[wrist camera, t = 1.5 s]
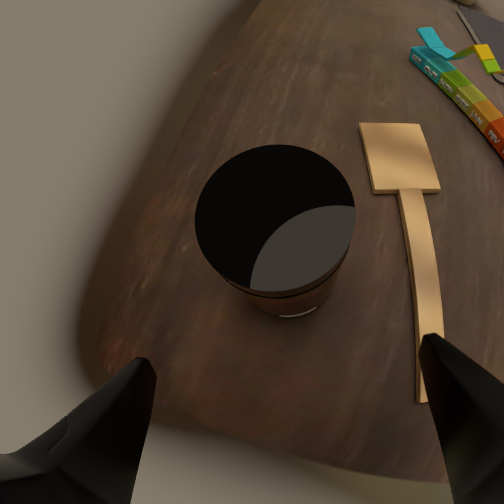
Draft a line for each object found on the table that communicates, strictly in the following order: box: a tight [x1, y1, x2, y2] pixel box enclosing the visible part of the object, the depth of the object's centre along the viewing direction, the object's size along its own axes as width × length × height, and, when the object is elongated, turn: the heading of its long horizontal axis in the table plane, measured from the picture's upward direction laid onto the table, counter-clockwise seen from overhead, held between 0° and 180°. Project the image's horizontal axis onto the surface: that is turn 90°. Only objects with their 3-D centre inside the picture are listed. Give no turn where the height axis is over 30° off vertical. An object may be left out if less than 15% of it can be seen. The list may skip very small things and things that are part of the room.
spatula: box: [359, 123, 444, 403], centre depth 21 cm, size 23×6×1 cm, turn 0°
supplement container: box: [195, 145, 356, 318], centre depth 17 cm, size 7×7×10 cm
